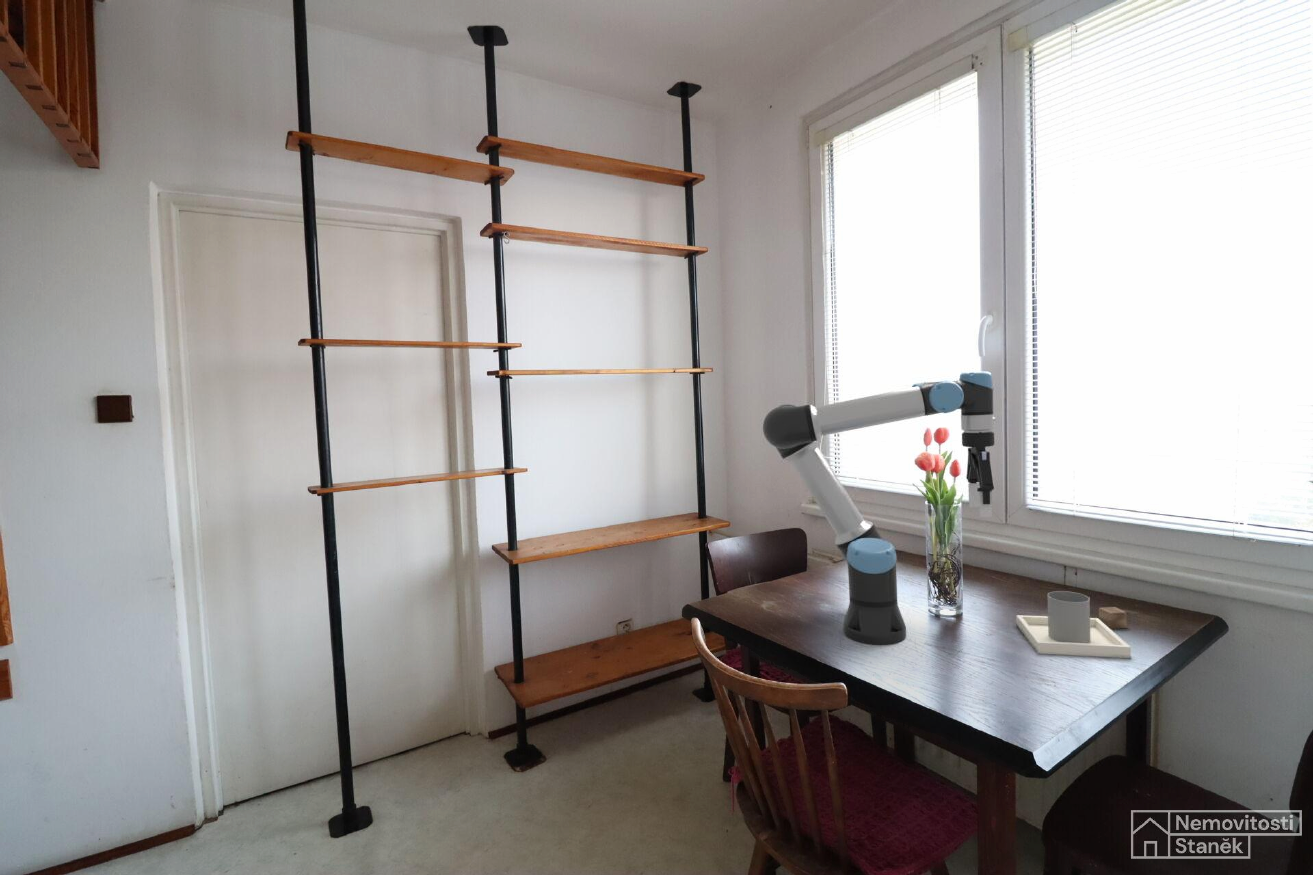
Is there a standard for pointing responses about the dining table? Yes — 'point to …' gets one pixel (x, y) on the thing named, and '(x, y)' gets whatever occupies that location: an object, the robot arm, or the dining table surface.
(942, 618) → the dining table surface
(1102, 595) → the dining table surface
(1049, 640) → the tray
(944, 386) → the robot arm
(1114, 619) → the walnut block
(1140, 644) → the dining table surface
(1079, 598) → the cup
